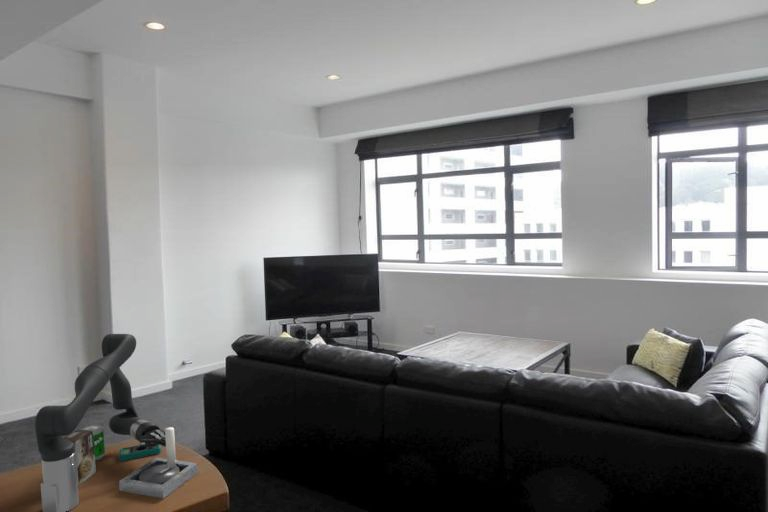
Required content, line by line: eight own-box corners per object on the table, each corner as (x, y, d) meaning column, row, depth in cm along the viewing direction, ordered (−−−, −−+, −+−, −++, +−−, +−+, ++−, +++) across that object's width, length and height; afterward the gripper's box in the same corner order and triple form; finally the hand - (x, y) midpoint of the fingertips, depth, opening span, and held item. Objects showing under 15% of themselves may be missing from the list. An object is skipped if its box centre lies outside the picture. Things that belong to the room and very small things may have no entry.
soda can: (85, 455, 210) (83, 425, 209) (106, 452, 212) (104, 422, 211) (81, 463, 202) (78, 433, 201) (103, 460, 205) (100, 430, 204)
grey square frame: (163, 498, 177) (162, 488, 177) (119, 490, 182) (118, 480, 182) (198, 472, 194) (197, 462, 194) (156, 466, 199) (156, 456, 199)
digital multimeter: (162, 454, 210) (161, 446, 210) (119, 462, 204) (119, 455, 203) (160, 446, 217) (160, 439, 217) (119, 455, 210) (119, 447, 210)
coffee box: (80, 471, 196) (77, 429, 195) (96, 472, 195) (93, 429, 194) (62, 484, 188) (58, 439, 186) (78, 485, 186) (75, 440, 185)
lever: (157, 492, 179) (155, 445, 178) (131, 484, 185) (128, 438, 184) (188, 474, 191) (185, 430, 190) (162, 467, 197) (159, 424, 195)
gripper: (126, 428, 198) (150, 440, 187) (160, 416, 208) (185, 427, 198) (128, 447, 199) (151, 460, 188) (161, 435, 209) (186, 447, 198)
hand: (168, 443), depth 193 cm, fingers closed
